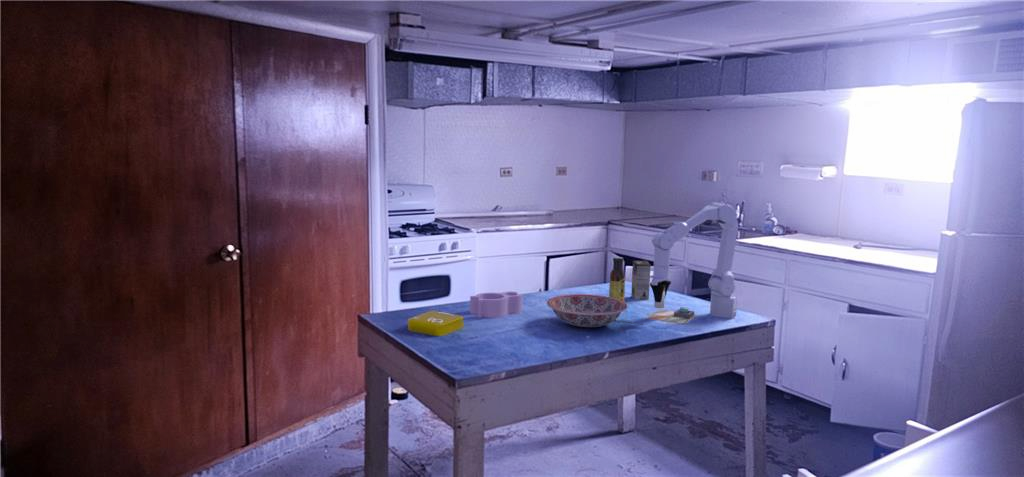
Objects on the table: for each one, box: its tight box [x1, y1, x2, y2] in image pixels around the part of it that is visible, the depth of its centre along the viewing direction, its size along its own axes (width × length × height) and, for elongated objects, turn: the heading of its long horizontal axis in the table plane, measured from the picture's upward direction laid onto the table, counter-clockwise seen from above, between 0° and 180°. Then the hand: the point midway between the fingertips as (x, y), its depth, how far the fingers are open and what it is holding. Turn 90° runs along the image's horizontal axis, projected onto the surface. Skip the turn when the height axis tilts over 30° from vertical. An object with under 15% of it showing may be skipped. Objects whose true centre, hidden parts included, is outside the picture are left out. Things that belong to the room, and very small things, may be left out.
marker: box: [653, 288, 666, 309], centre depth 247 cm, size 4×4×8 cm
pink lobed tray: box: [469, 291, 523, 319], centre depth 255 cm, size 20×12×7 cm, turn 120°
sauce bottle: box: [608, 256, 626, 302], centre depth 268 cm, size 6×6×20 cm
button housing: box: [674, 308, 695, 319], centre depth 251 cm, size 6×6×2 cm
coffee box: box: [630, 260, 652, 301], centre depth 280 cm, size 9×6×16 cm
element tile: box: [407, 310, 464, 337], centre depth 233 cm, size 15×15×5 cm
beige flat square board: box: [645, 308, 698, 326], centre depth 250 cm, size 15×16×1 cm
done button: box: [679, 306, 690, 314], centre depth 251 cm, size 3×3×2 cm
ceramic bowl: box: [546, 293, 628, 328], centre depth 240 cm, size 29×29×8 cm
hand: (659, 300), depth 247 cm, fingers closed on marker, 4 cm apart
